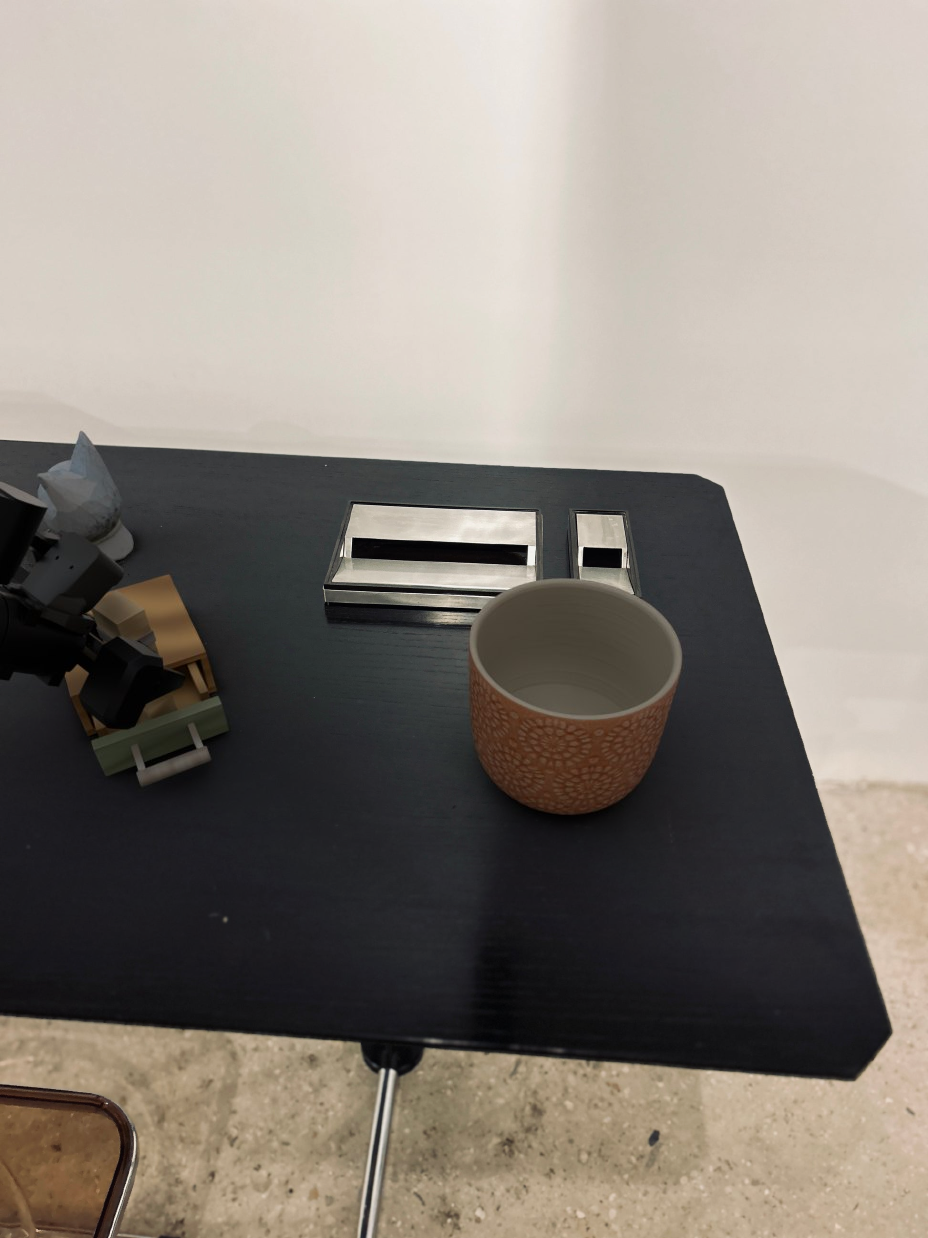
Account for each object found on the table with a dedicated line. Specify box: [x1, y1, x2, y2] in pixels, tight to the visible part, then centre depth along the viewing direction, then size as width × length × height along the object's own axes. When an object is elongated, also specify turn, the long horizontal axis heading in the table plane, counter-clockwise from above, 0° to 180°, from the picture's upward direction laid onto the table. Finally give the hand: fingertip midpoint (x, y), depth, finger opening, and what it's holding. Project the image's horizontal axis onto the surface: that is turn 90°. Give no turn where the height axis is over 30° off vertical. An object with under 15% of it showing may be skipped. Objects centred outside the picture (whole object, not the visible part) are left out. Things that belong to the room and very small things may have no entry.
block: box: [92, 591, 177, 723], centre depth 69 cm, size 3×4×14 cm, turn 52°
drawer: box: [90, 661, 230, 788], centre depth 73 cm, size 18×11×4 cm, turn 30°
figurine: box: [36, 430, 135, 562], centre depth 92 cm, size 10×9×15 cm
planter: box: [467, 577, 683, 816], centre depth 67 cm, size 17×17×15 cm
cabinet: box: [64, 574, 218, 737], centre depth 80 cm, size 14×12×5 cm
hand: (152, 658), depth 70 cm, fingers open, 9 cm apart
